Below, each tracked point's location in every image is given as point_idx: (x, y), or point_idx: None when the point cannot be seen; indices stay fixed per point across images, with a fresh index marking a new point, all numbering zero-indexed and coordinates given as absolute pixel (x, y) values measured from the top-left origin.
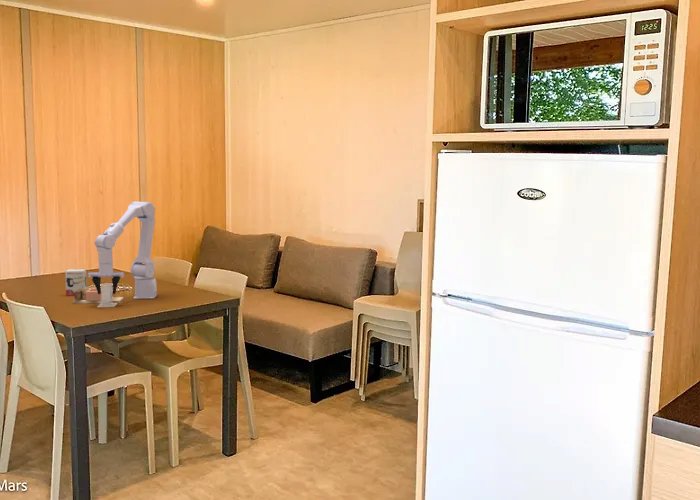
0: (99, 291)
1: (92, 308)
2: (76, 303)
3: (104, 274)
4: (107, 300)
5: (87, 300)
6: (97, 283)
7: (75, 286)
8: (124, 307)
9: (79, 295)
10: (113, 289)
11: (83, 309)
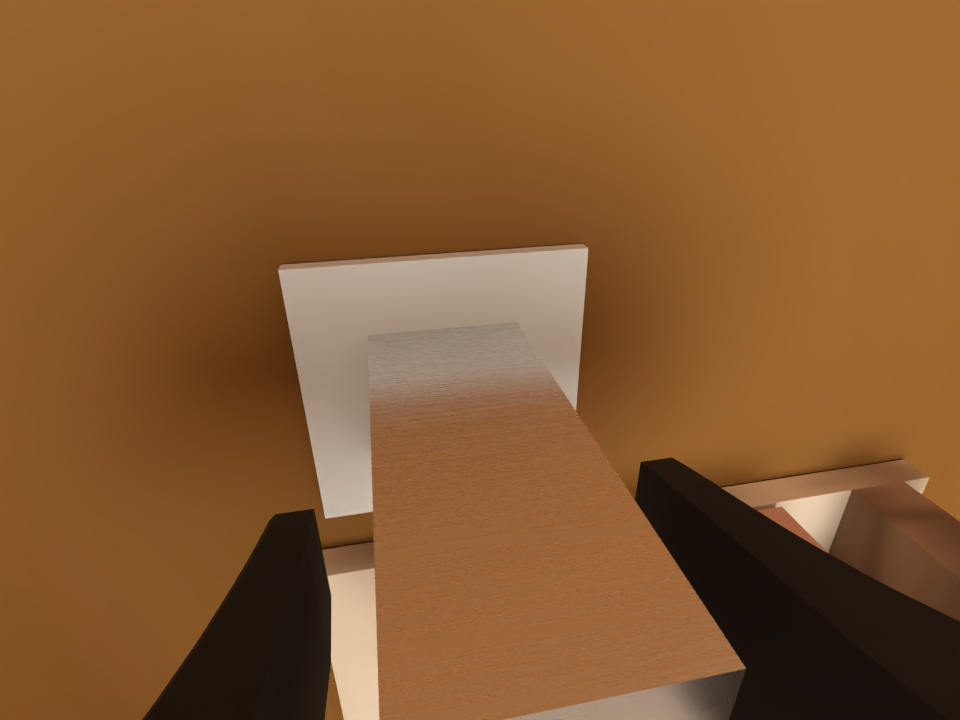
0: (676, 510)
1: (641, 161)
2: (862, 466)
3: None
4: (431, 374)
5: (765, 512)
6: (946, 692)
7: None
8: (32, 242)
9: (917, 557)
10: (263, 604)
11: (782, 76)
